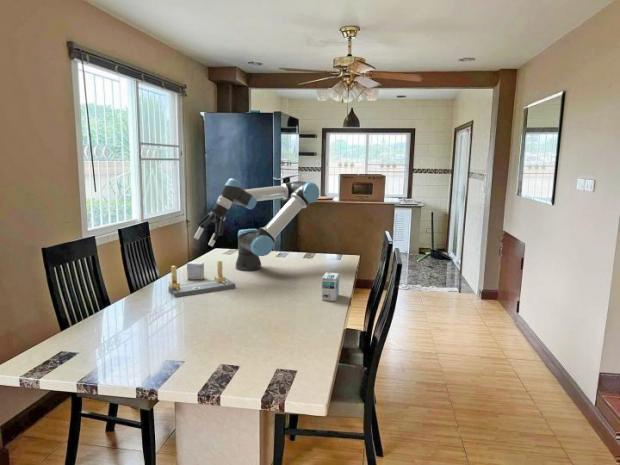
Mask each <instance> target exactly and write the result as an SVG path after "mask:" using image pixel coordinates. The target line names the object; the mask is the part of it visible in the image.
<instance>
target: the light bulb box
mask: <svg viewBox="0 0 620 465" xmlns="http://www.w3.org/2000/svg"><path fill="white" fill-rule="evenodd" d="M321 280H322V281H321V282H322V283H321V285H322V286H321V292H322V293H321V301H327V302H329V301H330V302H336V301H337V299H338V297H339V295H340V273H339V272H338V273H337V272H325V273H324V275H323V276H322V278H321Z"/></svg>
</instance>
